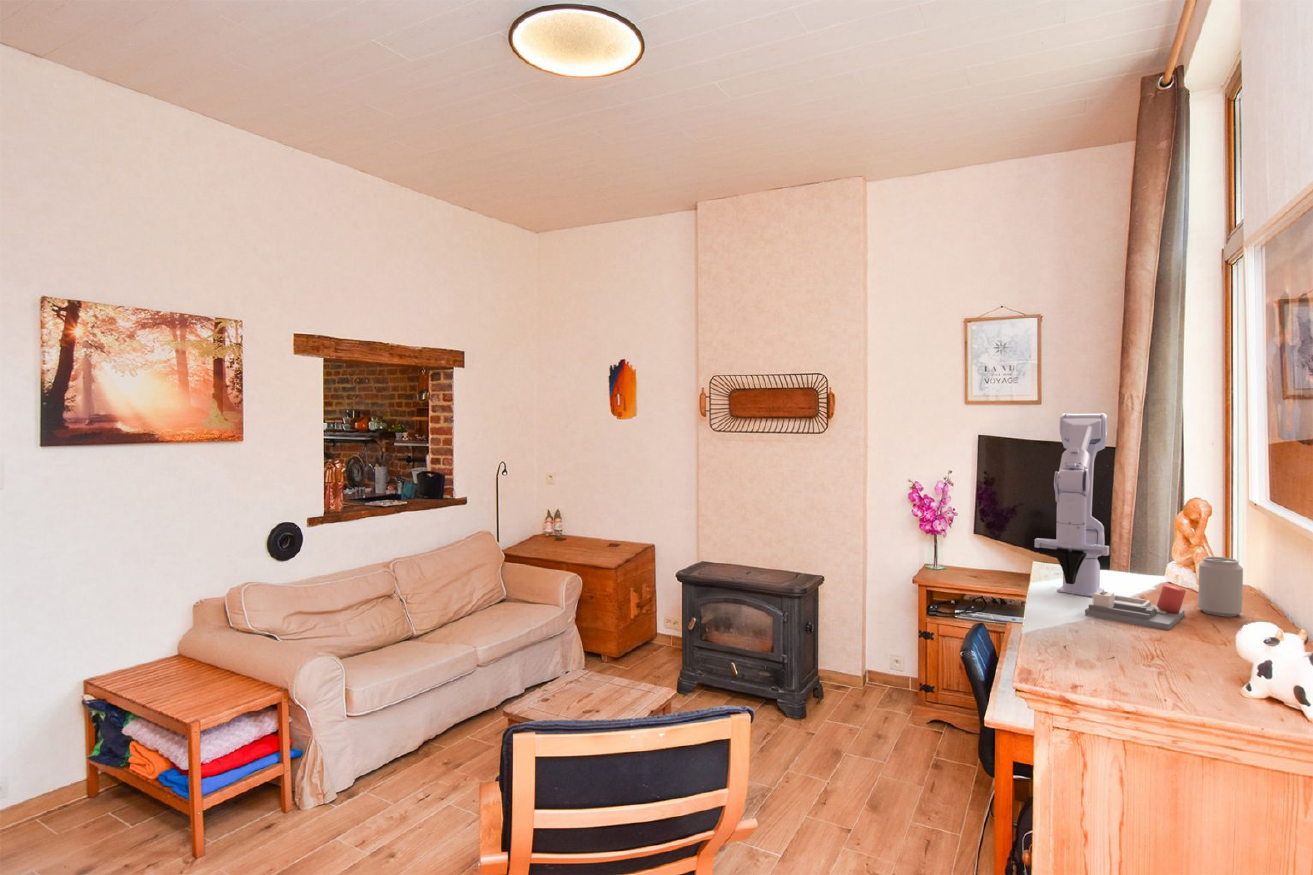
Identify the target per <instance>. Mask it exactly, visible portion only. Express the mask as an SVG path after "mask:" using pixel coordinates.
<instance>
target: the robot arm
mask: <svg viewBox="0 0 1313 875" xmlns="http://www.w3.org/2000/svg"><path fill="white" fill-rule="evenodd" d="M1059 434H1060V439H1061V444H1063V448H1064V449H1065V450H1064V452H1062V454H1061V458H1060V465H1059V468H1058V470H1059V471H1055V472H1054V478H1053V488H1054V492H1055V496H1054V497H1055V503H1056V533H1055V534H1056V539H1055V538H1054V539H1052V538H1039V537H1037V538H1035V539H1034V548H1036V549H1039V548H1043V549H1050V550H1056V551H1055V552H1054V555H1055V558H1056V559H1057V561H1058V563H1059V565H1060V567H1061V569H1062V586H1060V587H1059V588H1057V589H1056V591H1057V592H1061V593H1067V594H1073V595H1079V596H1087V597H1091V598H1093V594H1094V593H1095V592H1097V591H1104V592H1105V588H1104V587H1100V586H1101V584H1100V583H1101V581H1100V580H1101V564H1100V562H1099V560H1098V557H1101V556H1105V557H1107V556H1110V545H1105V543H1106V541H1105V526H1104V525H1103V523H1102V522H1100V521H1099V520H1098V519H1096V518H1095V517H1094V516H1092V514H1093V513H1092V512H1093V491H1094V490H1093V489H1094V469H1095V459H1096V456H1097V453H1098V452H1100V451H1102V450H1103V449H1105V448H1106V445H1107V440H1108V438H1107V435H1108V415H1107V414H1105V412H1104V413H1103V412H1101V413H1062V414H1061V415H1060V417H1059Z"/></svg>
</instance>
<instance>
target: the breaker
mask: <svg viewBox="0 0 1313 875" xmlns="http://www.w3.org/2000/svg"><path fill="white" fill-rule="evenodd" d="M1114 595H1115V592H1110V591H1105V590H1104V591H1097V592H1095V593H1094V594H1093V597H1092V605H1097V606H1103V607H1109V608H1113V607H1114Z"/></svg>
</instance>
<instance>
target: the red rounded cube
mask: <svg viewBox="0 0 1313 875" xmlns="http://www.w3.org/2000/svg"><path fill="white" fill-rule="evenodd" d="M1186 592H1187V590H1186V589H1185V588H1183V587H1180V586H1178V585H1175V584H1171V583H1163V584H1162V587H1161V591H1160V594H1159V597H1158V601H1157V604H1156V606H1157V607H1158V608H1160V609H1161V610H1164V611H1166V612H1170V613H1175V614H1178V613H1179V612H1180V609H1182V605H1183V601H1184V598H1185V595H1186Z"/></svg>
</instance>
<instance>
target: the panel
mask: <svg viewBox="0 0 1313 875" xmlns="http://www.w3.org/2000/svg"><path fill="white" fill-rule="evenodd" d="M1084 616H1087V617H1091V618H1092V617H1093V618H1099V619H1104V620H1110V621H1115V622H1121V623H1126V624H1130V625H1131V624H1132V625H1137V626H1144V627H1150V628H1156V629H1159V630H1160V629H1161V630H1166V631H1170V630H1171V629H1172V628H1173V627H1174V626H1175V625H1176V624H1177V623H1179V621H1180V620H1182V618H1183V617H1184V616H1185V609H1182V608H1180V612H1179V613H1178V614H1175V613H1170V612H1166V611H1164V610H1161V609H1160V608H1158V607H1157V604H1151V601H1150V600H1149V599H1143V598H1137V597H1130V596H1124V595H1118V594H1117V595H1116V594H1114V607H1113V608H1109V607H1103V606H1097V605H1093V604H1088V607H1086V609H1084Z"/></svg>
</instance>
